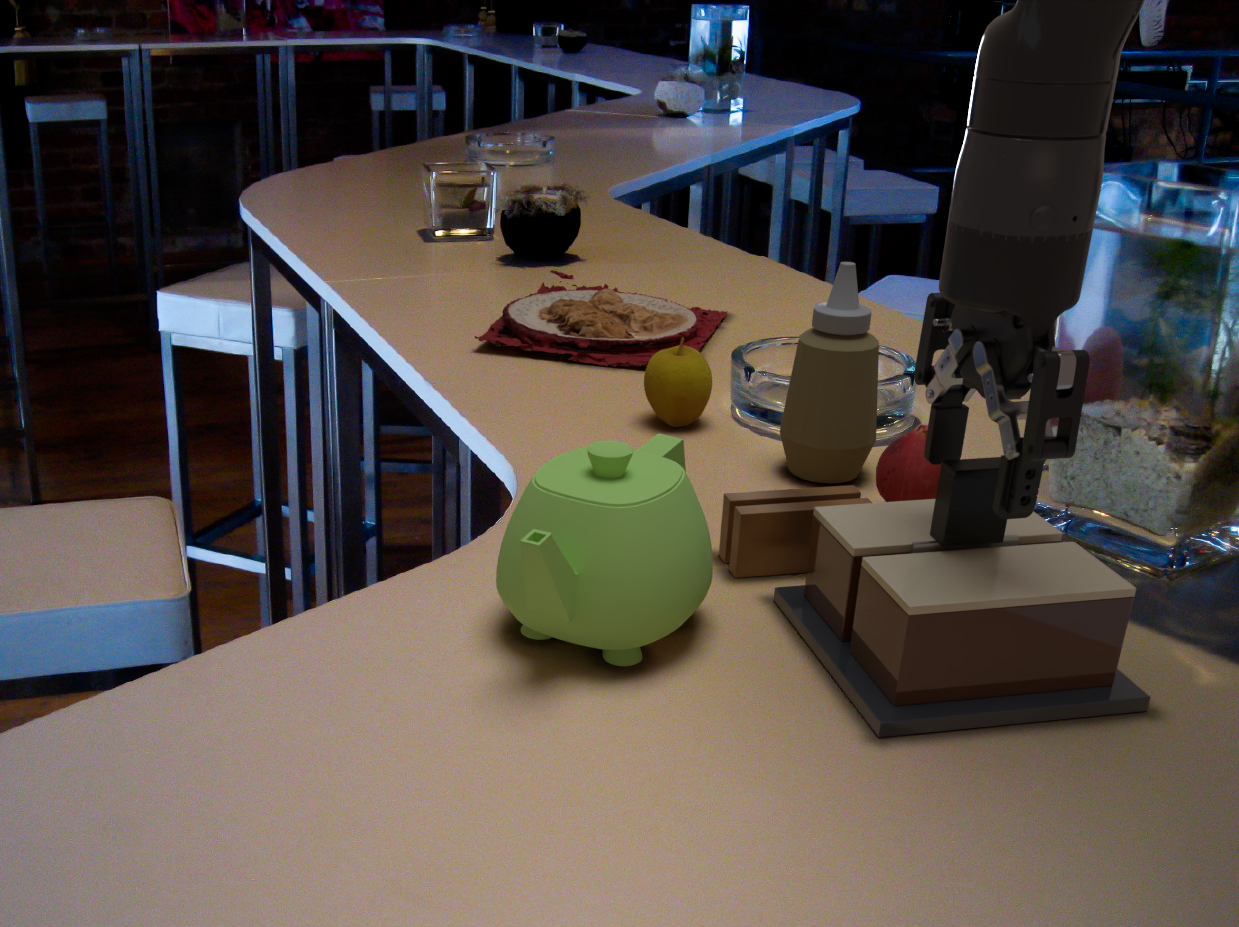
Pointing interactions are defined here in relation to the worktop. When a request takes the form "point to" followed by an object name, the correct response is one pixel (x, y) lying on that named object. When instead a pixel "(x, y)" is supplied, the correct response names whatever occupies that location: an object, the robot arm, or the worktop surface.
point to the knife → (966, 508)
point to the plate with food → (600, 324)
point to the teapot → (607, 548)
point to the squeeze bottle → (833, 389)
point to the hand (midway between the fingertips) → (974, 487)
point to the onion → (907, 469)
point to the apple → (678, 384)
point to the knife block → (774, 527)
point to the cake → (960, 623)
